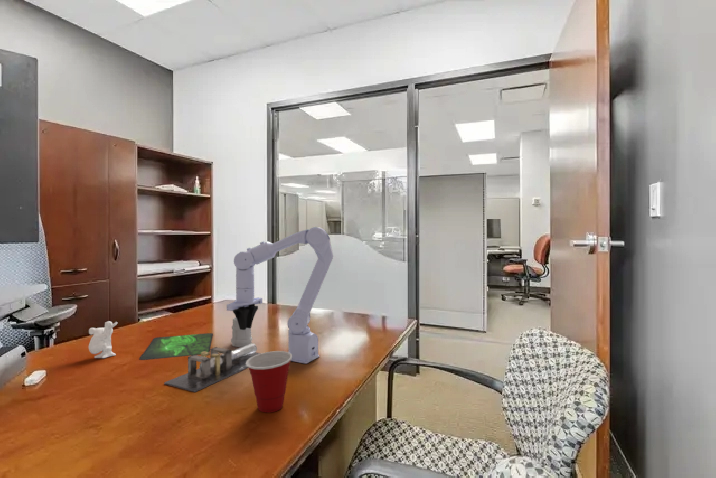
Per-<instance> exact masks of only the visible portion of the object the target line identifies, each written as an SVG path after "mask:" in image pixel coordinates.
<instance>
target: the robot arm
mask: <svg viewBox="0 0 716 478" xmlns="http://www.w3.org/2000/svg"><path fill="white" fill-rule="evenodd" d="M298 244H302V245H307V244H308V245H309V246H310V247H311V248H312V249H313V250H314V253H315V255H316V257H317V260H316V262H315V264H314V267H313V270H312V271H311V274H310V277H309V279H308V281H307V284H306V285H305V288H304V290H303V293H302V295H301V298H300V300H299V302H298V305H297V306H296V309H295V310H294V311H293V313H292V315H291V316H290V317H288V320H287V324H286V325H287V327H288V330H287V331H288V332H287V333H288V338H287V340H288V348H287V349H288V350H287V352H289V353H291V354H292V359H291V361H290V362H295V363H300V364H309V363H310V362H312V361H314V360H316V359H318V358H320V355H319V336H318V335H317V334H316V333H314V332H312V331H311V328H310V326H309V325H308V324H309V323H310V321H311V313H312V312H311V311H312V309H313V307H314V305H315V302H316V298H317V296H318V295H319V292H320V289H321V288H322V284H324V283H323V282H324V280H325V278H326V276H327V274H328V270H329V269H330V265H331V264H332V262H333V259H334V253H333V249H332V244H331V237H330V235H329V234H328V232H327V231H326V230H325V229H324V228H322V227H319V226H318V227H317V226H315V227H314V226H312V227H311V228H309V229H303V230H300V231H297V232H294V233H293V234H290V235H288V236H286V237H283V238H282V239H280V240H277V241H275V242H273V243H272V242H270V241H266V242H265V241H264V240H263V241H261V242H259V244H258V245H257V246H254V247H253V246H252V247H248V248H247V247H246V251H239V252H238V253H237V254H236V255H235V256H234V258H233V264H234V266H235V268H236V269H235V271H236V272H235V273H236V274H235V291H236V293H235V294H236V295H235V297H236V298H235V300H234V301H233V302H230V303H227V304H226V311H227V312H229V311H230V312H232V313H233V314H234V316H235V317H236V318H237V321H238V324H239V328H240V329H241V330H246V328H251V329H252V327H251V326H252V325H253V321H254V318H255V315H256V313H257V311H258V310H259V306H258V304H260V305H261V304H263V297H255V273H254V272H255V269H254V267H255V265H260V264H261V263H264V262H267V261H269V260H271V259H273V258H275V257H276V255H277V253H278V252H280V251H282V250H285V249H288V248H290V247H293V246H296V245H298Z"/></svg>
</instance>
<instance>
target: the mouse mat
mask: <svg viewBox="0 0 716 478" xmlns="http://www.w3.org/2000/svg"><path fill="white" fill-rule="evenodd" d="M213 336H214V333H212V332H211V333H210V332H209V333H208V332H207V333H206V332H205V333H191V334H183V335H182V334H181V335H170V336H169V335H167V336H162V337H161V336H159V337H158V336H157V337H153V339H152V341H151V342H150V343H149V344H148V346H147V347H146V348H145V350H144V352H142V354H141V355H140V357H139V358H138V360H140V361H147V360H148V361H149V360H150V361H151V360H159V359H168V358H179V357H189V356H192V355H198V356H201V352H204V351H205V352H209V353H211V350H210V349H211V345H212V341H213Z"/></svg>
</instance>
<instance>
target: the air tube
mask: <svg viewBox="0 0 716 478" xmlns="http://www.w3.org/2000/svg"><path fill="white" fill-rule="evenodd" d="M257 350H258V346H257V345H256V344H255V342H254V343H251V344H249V345H246V346H243V347H238V348H236V349H233V350H232V362H233V361H235V360H238V359H240V358H243V357H245V356H247V355H250V354H252V353H255V352H256V353H257ZM223 365H224V354H222V353H221V354H220V367H221V366H223ZM199 368H200V370H201V372H202V362H200V364H199ZM214 369H215V357H214V358H212V359H211V358H210V371H211V370H214Z"/></svg>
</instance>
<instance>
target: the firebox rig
mask: <svg viewBox="0 0 716 478" xmlns="http://www.w3.org/2000/svg"><path fill="white" fill-rule="evenodd" d="M232 351H233V350H232V349H228V348H224V347H222V348H221V347H217V346H214V347H212V348H210V352H205V351H204V352H201V355H192V356H187V358H188V359H187V373H185V374H182V375H178V376H177V377H175V378H171V379H168V380H167V381H165V382H164V383H163V384H164V385H166V386H169V387H174V388H177V389H181V390H185V391H189V392H192V393H197V392H198V391H201V390H203V389H205V388H207V387H209V386H212V385H214V384H216V383H219V382H221V381H222V380H224V379H227V378H229V377H231V376H233V375H235V374H238V373H240V372H242V371H245V370H246V369H249V368H248V366H247V365H246V361H247V360H248V359H249V358H251V357H253V356H255V355H258V354H261V353H262V352H261V353H260V352H257V351H256V352H255V353H252V354H250V355H247V356H245V357H243V358H240V359H238V360H235V361H233V362H232ZM222 354H224V365H223V366H221V367H220V355H222ZM207 356H210V357H207ZM214 357H215V369H214V370H211V371H210V359H212V358H214ZM197 362H198V363H199V362H200V363H201V362H202V372H201V370H200V367H199V368H197Z"/></svg>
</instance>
